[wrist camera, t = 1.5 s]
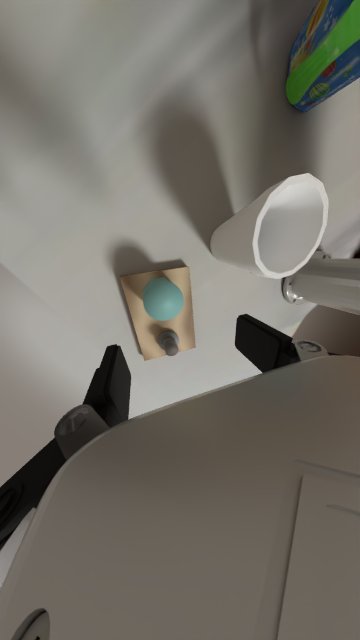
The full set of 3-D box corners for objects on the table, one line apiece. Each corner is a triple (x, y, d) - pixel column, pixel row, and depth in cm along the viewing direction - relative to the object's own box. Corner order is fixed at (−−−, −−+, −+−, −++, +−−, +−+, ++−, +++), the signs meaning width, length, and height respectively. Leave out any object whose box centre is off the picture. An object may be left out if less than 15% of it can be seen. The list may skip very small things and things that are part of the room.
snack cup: (271, 158, 23) (357, 93, 14) (248, 58, 18) (360, -146, 9) (352, 87, 22) (504, -34, 13) (353, -40, 17) (602, -389, 8)
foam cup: (192, 246, 25) (236, 238, 14) (226, 199, 23) (309, 142, 12) (224, 279, 29) (279, 293, 18) (255, 240, 27) (337, 228, 16)
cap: (174, 274, 25) (181, 278, 20) (178, 306, 27) (185, 316, 23) (138, 279, 24) (138, 285, 19) (146, 313, 26) (148, 324, 22)
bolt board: (186, 266, 26) (197, 268, 21) (193, 343, 34) (202, 358, 29) (120, 275, 24) (115, 280, 19) (144, 356, 32) (144, 374, 27)
